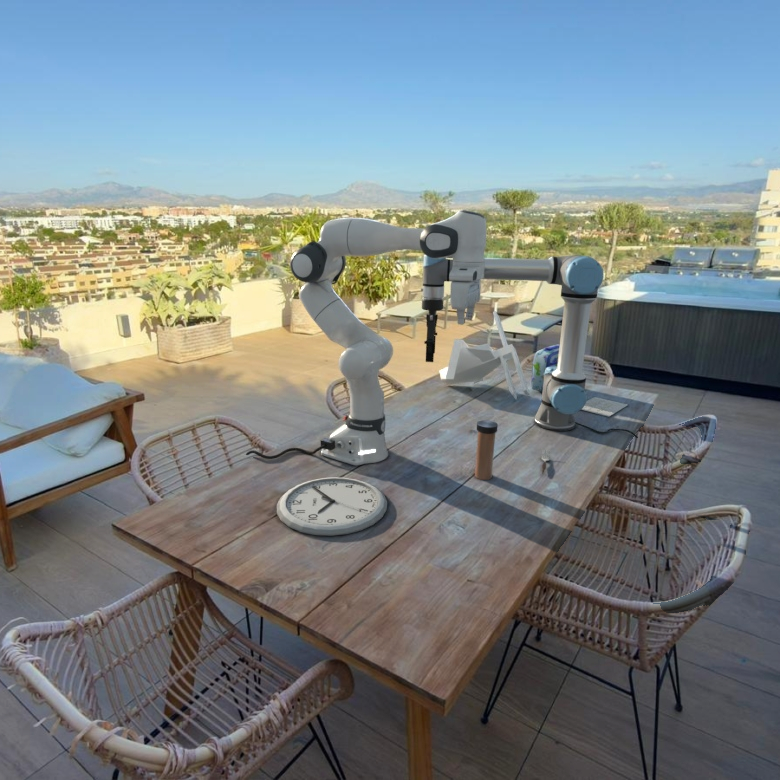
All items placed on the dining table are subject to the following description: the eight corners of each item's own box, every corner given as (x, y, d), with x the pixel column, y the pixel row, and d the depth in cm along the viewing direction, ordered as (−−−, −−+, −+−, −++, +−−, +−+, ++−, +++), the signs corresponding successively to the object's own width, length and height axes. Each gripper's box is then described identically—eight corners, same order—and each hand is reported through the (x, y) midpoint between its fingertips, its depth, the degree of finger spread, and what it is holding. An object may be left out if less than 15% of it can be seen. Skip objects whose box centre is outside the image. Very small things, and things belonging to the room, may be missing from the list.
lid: (494, 435, 153) (494, 428, 152) (474, 431, 155) (474, 425, 155) (499, 428, 158) (499, 422, 157) (479, 425, 161) (480, 418, 160)
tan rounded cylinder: (489, 481, 158) (493, 429, 153) (472, 477, 160) (476, 426, 155) (493, 474, 162) (497, 423, 157) (477, 471, 164) (481, 421, 159)
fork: (538, 474, 162) (538, 468, 162) (542, 454, 177) (542, 449, 176) (546, 475, 162) (547, 470, 161) (550, 455, 176) (550, 450, 175)
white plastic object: (461, 429, 252) (437, 405, 227) (444, 352, 274) (420, 323, 250) (535, 404, 240) (518, 377, 215) (510, 326, 262) (492, 293, 237)
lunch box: (547, 397, 237) (552, 352, 231) (526, 391, 245) (531, 348, 238) (574, 386, 255) (580, 344, 249) (554, 381, 262) (559, 340, 256)
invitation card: (608, 416, 214) (573, 407, 224) (608, 416, 214) (573, 408, 224) (628, 404, 229) (594, 396, 238) (628, 405, 229) (594, 397, 238)
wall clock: (392, 527, 129) (268, 531, 127) (391, 533, 130) (269, 537, 127) (383, 473, 158) (282, 475, 155) (383, 478, 158) (282, 480, 156)
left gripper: (466, 269, 156) (463, 315, 160) (447, 274, 138) (444, 326, 142) (487, 270, 153) (483, 317, 158) (470, 275, 135) (467, 328, 139)
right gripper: (424, 293, 195) (422, 349, 202) (419, 302, 172) (417, 365, 178) (444, 294, 195) (441, 350, 201) (442, 303, 171) (439, 366, 177)
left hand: (465, 321), depth 149 cm, fingers open, 8 cm apart
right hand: (430, 357), depth 190 cm, fingers open, 13 cm apart
